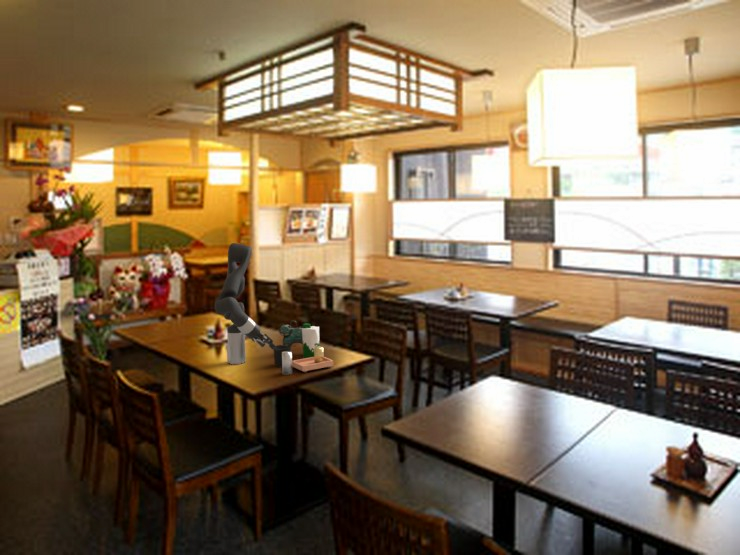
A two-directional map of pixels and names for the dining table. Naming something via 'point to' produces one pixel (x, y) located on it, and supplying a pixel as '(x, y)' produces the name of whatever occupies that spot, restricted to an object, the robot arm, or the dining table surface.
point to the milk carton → (310, 339)
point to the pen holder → (280, 354)
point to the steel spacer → (287, 362)
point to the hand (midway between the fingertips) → (269, 346)
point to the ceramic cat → (291, 334)
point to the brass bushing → (318, 354)
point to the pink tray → (311, 364)
